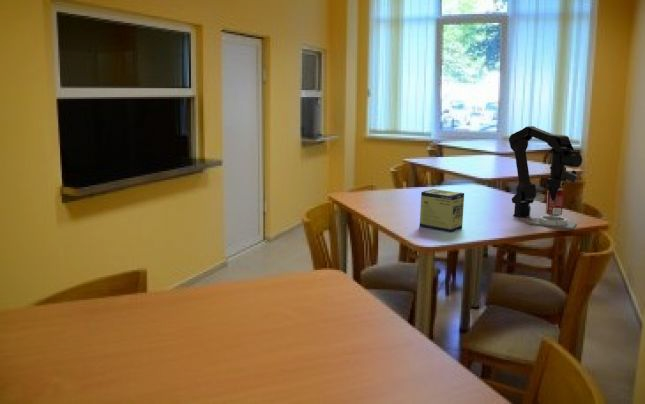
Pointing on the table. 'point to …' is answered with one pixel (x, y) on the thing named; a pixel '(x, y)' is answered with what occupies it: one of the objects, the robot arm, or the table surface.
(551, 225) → the holder
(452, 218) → the protein box
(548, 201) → the soda can
